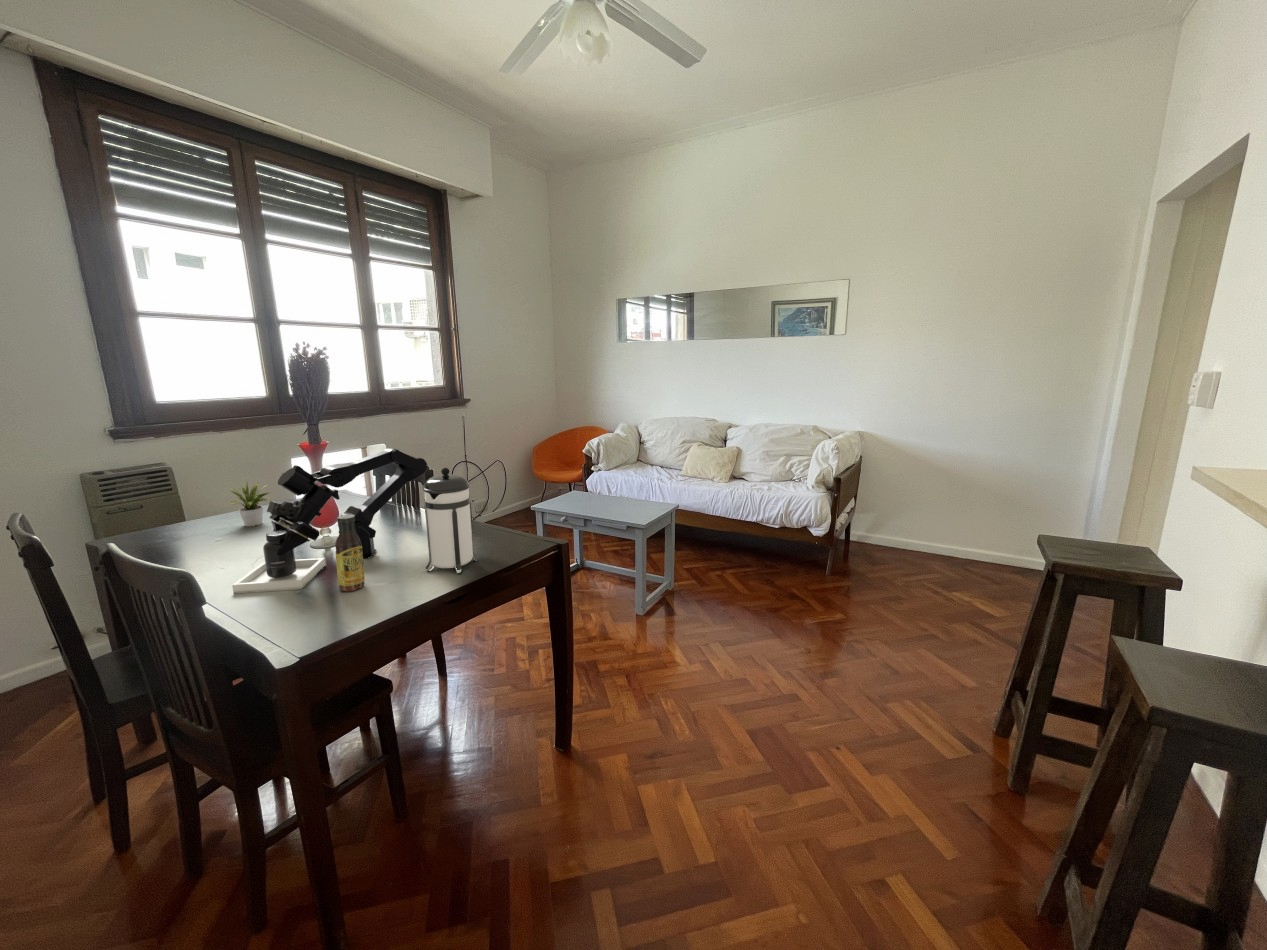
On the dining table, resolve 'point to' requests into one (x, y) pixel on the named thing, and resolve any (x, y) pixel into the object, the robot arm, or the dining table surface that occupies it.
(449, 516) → the coffee press
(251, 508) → the house plant
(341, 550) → the sauce bottle
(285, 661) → the dining table surface
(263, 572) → the tray
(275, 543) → the supplement bottle
